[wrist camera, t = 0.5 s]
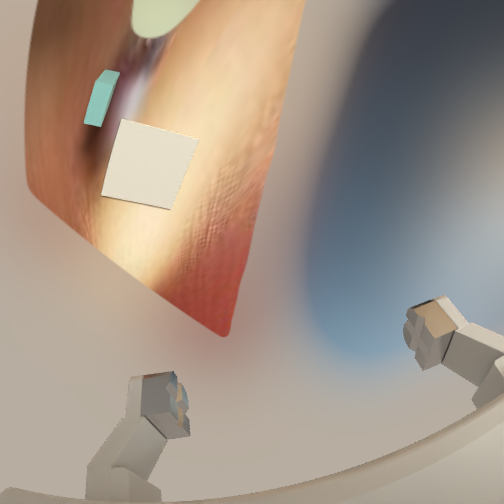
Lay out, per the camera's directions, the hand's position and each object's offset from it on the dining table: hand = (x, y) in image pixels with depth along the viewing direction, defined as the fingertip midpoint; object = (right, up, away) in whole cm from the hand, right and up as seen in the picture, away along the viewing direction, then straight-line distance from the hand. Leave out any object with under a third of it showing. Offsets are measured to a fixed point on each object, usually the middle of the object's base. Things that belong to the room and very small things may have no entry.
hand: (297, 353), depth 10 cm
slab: (-24, +29, +32) cm, 49 cm away
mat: (-20, +18, +43) cm, 51 cm away
